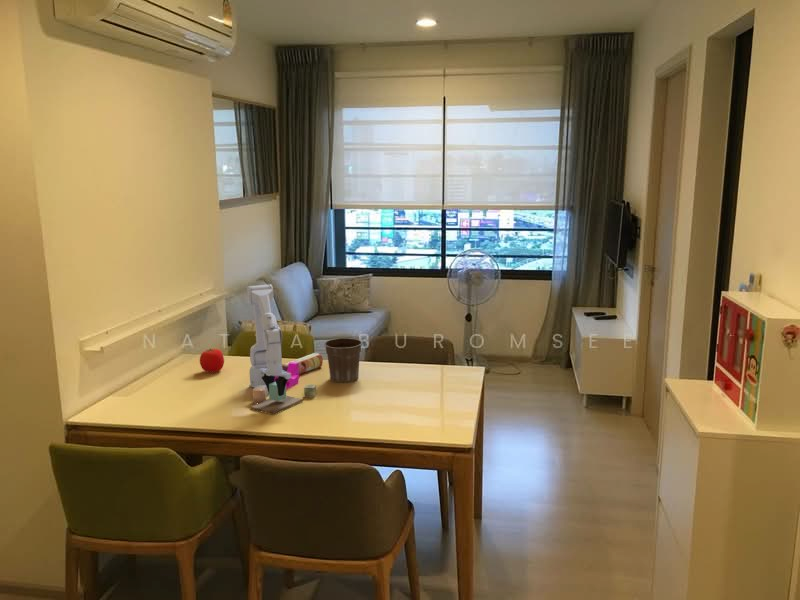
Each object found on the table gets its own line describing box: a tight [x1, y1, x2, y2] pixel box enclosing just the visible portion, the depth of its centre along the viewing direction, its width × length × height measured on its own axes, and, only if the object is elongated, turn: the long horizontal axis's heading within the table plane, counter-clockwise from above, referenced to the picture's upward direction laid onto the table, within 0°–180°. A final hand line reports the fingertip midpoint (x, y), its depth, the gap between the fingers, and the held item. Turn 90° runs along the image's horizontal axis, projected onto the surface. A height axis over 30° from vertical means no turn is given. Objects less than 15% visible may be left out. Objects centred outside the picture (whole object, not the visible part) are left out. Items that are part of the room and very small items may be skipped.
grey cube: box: [254, 385, 269, 397], centre depth 255 cm, size 4×4×4 cm
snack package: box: [282, 352, 324, 375], centre depth 286 cm, size 21×7×7 cm, turn 143°
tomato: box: [199, 348, 225, 373], centre depth 289 cm, size 10×11×11 cm
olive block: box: [303, 384, 317, 398], centre depth 254 cm, size 4×4×4 cm
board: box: [250, 395, 304, 415], centre depth 244 cm, size 12×16×1 cm
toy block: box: [274, 361, 300, 391], centre depth 269 cm, size 15×6×8 cm, turn 158°
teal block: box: [268, 382, 287, 401], centre depth 244 cm, size 4×4×6 cm
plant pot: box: [324, 337, 363, 383], centre depth 274 cm, size 16×16×16 cm
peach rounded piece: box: [252, 387, 267, 404], centre depth 249 cm, size 5×5×5 cm
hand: (276, 394), depth 244 cm, fingers closed on teal block, 4 cm apart
